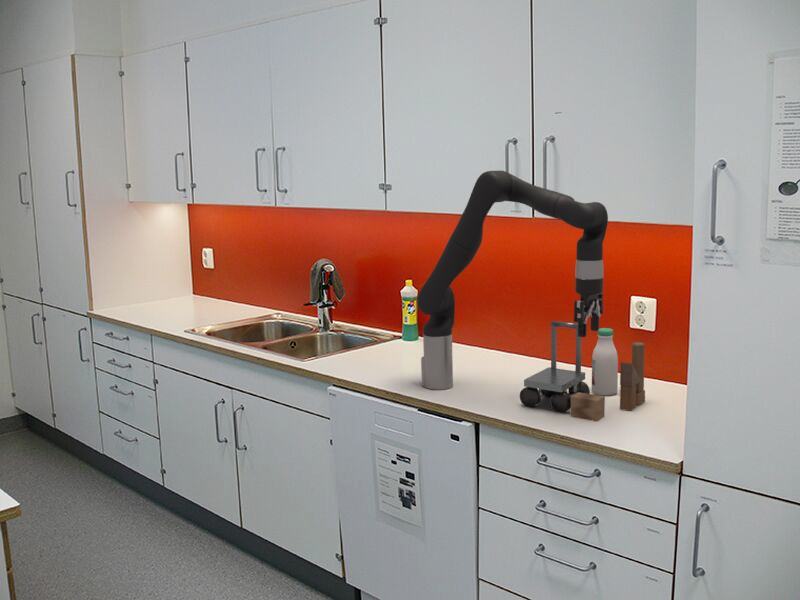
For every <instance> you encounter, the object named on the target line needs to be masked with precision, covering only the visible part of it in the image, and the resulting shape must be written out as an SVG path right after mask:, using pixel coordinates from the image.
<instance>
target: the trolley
mask: <svg viewBox="0 0 800 600" xmlns="http://www.w3.org/2000/svg"><path fill="white" fill-rule="evenodd" d="M557 328H565V329H573V330H574V329H575V370H569V369H564V368H558V367H557V348H558V347H557V344H558V342H557V336H558V335H557ZM550 329H551V330H550V335H551V336H550V367H547V368H544V369H542V370H541V371H538V372H536V373H535V374H532V375H530V376H529V377H527V378H524V379H523V387H524V388H522V389H521V391H520V393H519V400H520V402H521V404H522V405H523V406H524V407H527V408H534V407H535V406H537V405H539V404H540V403H541V400H542V396H543V397H545V398H550V406H551V408H552V409H553V410H554V411H555V412H557V413H558V414H564V413H566V412H568V411H569V410H571V396H573V395H574V394H576V393H578V392H580V393H587V394H591V390H590V387H589V385H588V384H587V383H586V382H584V380H586V372H583V371H582V337H579V336H578V323H577V322H566V321H558V320H557V321H556V320H552V321H551V322H550Z"/></svg>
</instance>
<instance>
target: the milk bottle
mask: <svg viewBox="0 0 800 600" xmlns="http://www.w3.org/2000/svg"><path fill="white" fill-rule="evenodd" d="M597 337H598V338H597V342H596V345H595V347H594V349H593V352H592V358H591V359H592V361H591V392H592V394H593V395H599V396H607V397H608V396H613V395H617V393H618V387H619V386H618V385H619V383H618V380H619V379H618V378H619V375H618V373H619V371H618V370H619V367H618V366H619V356H618V351H617V349H616V346H615V343H614V341H613V337H614V329H612V328H608V327H602V328H600V327H599V330H598V331H597Z"/></svg>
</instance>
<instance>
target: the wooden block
mask: <svg viewBox="0 0 800 600" xmlns="http://www.w3.org/2000/svg"><path fill="white" fill-rule="evenodd" d="M645 346H646V344H645V343H643V342H640V341H636V342H633V343H632V344H631V362H624V361H620V364H619V365H620V368H619V369H620V370H619V371H620V372H619V376H620V377H619V378H620V379H619V386H620V389H619V391H620V392H619V409H620V410H622V411H628V412H631V411H633V410H635V409H636V407H638V406H641V405H642V404H643V403H644V402H645V401H646V390H645V388H644V387H645V357H646V356H645V354H646V351H645V350H646V349H645V348H646V347H645Z"/></svg>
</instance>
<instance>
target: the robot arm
mask: <svg viewBox="0 0 800 600" xmlns="http://www.w3.org/2000/svg"><path fill="white" fill-rule="evenodd" d="M503 202H512V203H519V204H522V205H525V206H528V207H529V208H531V209H533V210H535V211H536V212H537V213H540V214H541V215H544V216H547V217H550V218H554V219H557V220H559V221H560V220H561V221H562V222H564V223H566V224H567V225H569V226H571V227H574V228H575V229H579V230H583V231H582V232H583V233H582V236H581V237H580V238H579V239H578V240H577V241H576V251H575V252H576V261H575V271H574V272H575V274H574V279H575V283H574V289H575V290H574V291H575V293H576V294H578V295H579V296H580V298H579V300H578V299H575V300H574V304H573V323H577V324H578V336H579V337H581V338H585V337H587V335H588V334H587V333H588V332H587V329H588V327H587V325H588V324H587V322H588V318H590V331H593V332H598V330H599V329H600V318H601V315H603V314H604V261H603V260H604V258H603V257H604V256H603V254H604V247H603V244H604V240H605V236H606V233H607V228H608V224H609V223H608V222H609V215H608V210H607V208H606V207H605V205H604V204H603V203H601V202H600V201H599V202H597V201H592V202H585V203H584V202H580V201H578V200H577V201H576V200H575V199H574V198H573V197H572V196H571V195H568V194H564V193H561V192H557V191H555V190H551V189H548V188H544V187H540V186H537V185H534V184H532V183H530V182H527V181H525V180H523V179H521V178H519V177H517V176H515V175H513V174H511V173H510V172H509V171H505V170H487V171H484V172H482V173H481V174H480V175H479V176H478V177H477V179H476V181H475V184H474V185H473V188H472V191H471V193H470V197H469V199H468V201H467V204H466V206H465V208H464V211H463V212H462V214H461V216H460V218H459V219H458V223H457V224H456V226H455V228H454V229H453V231H452V233H451V234H450V237H449V239H448V241H447V243H446V245H445V247H444V249H443V251H442V253H441V255H440V257H439V258H438V260H437V262H436V265H435V266H434V268H433V270H432V272H431V273H430V275H429V276H428V278H427V279H426V281H425V282H424V284H423V285H422V287H420V288H421V289H420V290H419V291H418V295H417V298H416V300H417V301H416V302H417V307H418V310H419V311H420V312H421V313H422V314H424V315H427V316H429V318H428V319H427V322H425V323H424V324H423V327H422V336H423V337H422V338H423V340H422V341H423V356H422V357H421V358H420V362H421V363H420V365H421V369H420V371H421V386H422V387H424V388H426V389H429V390H437V391H438V390H439V391H440V390H447V389H448V390H449V389H451V388H452V387H453V386H454V379H453V378H454V377H453V376H454V375H453V374H454V373H453V372H454V371H453V370H454V369H453V327H454V325H455V319H456V318H455V312H456V303H455V302H456V300H455V299H456V297H455V294H454V290H453V289H452V287H451V285H452V283H453V282H454V281H455V279H456V278H457V277H458V276H459V275H461V273H462V272H463V271H464V270H465V269H466V268H468V266H469V265H470V264H471V262H472V261H473V260H474V258H475V257H476V254H478V253H477V252H478V251H479V249H480V247H481V244H482V241H483V236H484V222H485V219H486V217H487V216H488V214H489V212H490V210H491V209H492V207H493V205H495V203H503Z"/></svg>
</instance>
